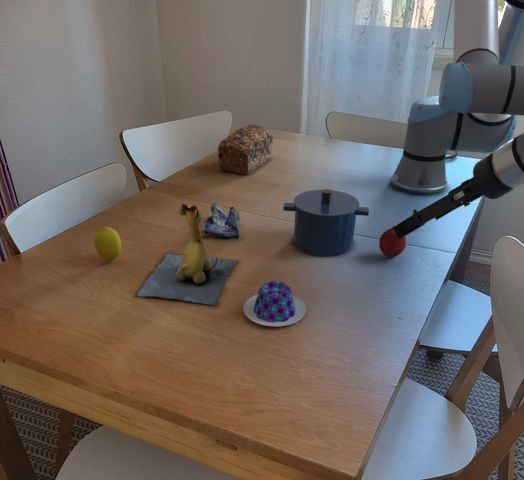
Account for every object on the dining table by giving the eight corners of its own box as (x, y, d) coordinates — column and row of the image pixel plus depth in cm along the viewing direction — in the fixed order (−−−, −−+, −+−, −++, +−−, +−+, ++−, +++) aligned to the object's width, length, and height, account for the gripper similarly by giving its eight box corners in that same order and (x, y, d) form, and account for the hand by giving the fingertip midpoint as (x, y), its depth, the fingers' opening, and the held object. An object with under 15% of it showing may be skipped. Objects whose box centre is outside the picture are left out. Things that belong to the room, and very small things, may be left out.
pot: (285, 227, 134) (286, 190, 129) (363, 232, 133) (368, 194, 127) (279, 253, 124) (281, 213, 118) (364, 259, 122) (370, 219, 116)
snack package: (259, 227, 135) (222, 214, 140) (257, 204, 130) (218, 192, 135) (229, 253, 128) (191, 238, 133) (226, 230, 123) (187, 215, 129)
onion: (403, 265, 120) (409, 231, 115) (376, 262, 121) (381, 229, 116) (403, 253, 124) (409, 220, 119) (377, 250, 125) (382, 218, 120)
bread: (244, 153, 179) (244, 121, 173) (274, 158, 175) (275, 125, 169) (216, 171, 165) (215, 137, 159) (248, 176, 162) (248, 142, 156)
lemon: (128, 257, 122) (123, 223, 117) (115, 268, 117) (109, 234, 113) (106, 253, 123) (100, 219, 118) (93, 264, 119) (86, 230, 114)
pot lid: (296, 192, 129) (296, 177, 127) (358, 195, 128) (360, 180, 126) (290, 218, 118) (291, 202, 115) (359, 222, 116) (361, 206, 114)
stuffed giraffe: (237, 261, 120) (232, 191, 110) (214, 307, 106) (206, 233, 96) (168, 256, 123) (157, 187, 113) (137, 300, 109) (122, 227, 99)
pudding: (245, 294, 110) (244, 271, 106) (304, 295, 109) (306, 272, 106) (241, 328, 100) (241, 304, 97) (306, 330, 100) (308, 306, 97)
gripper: (478, 208, 89) (388, 258, 107) (545, 172, 103) (456, 222, 120) (456, 167, 89) (370, 224, 107) (527, 137, 103) (440, 192, 120)
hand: (416, 223), depth 114 cm, fingers open, 13 cm apart
